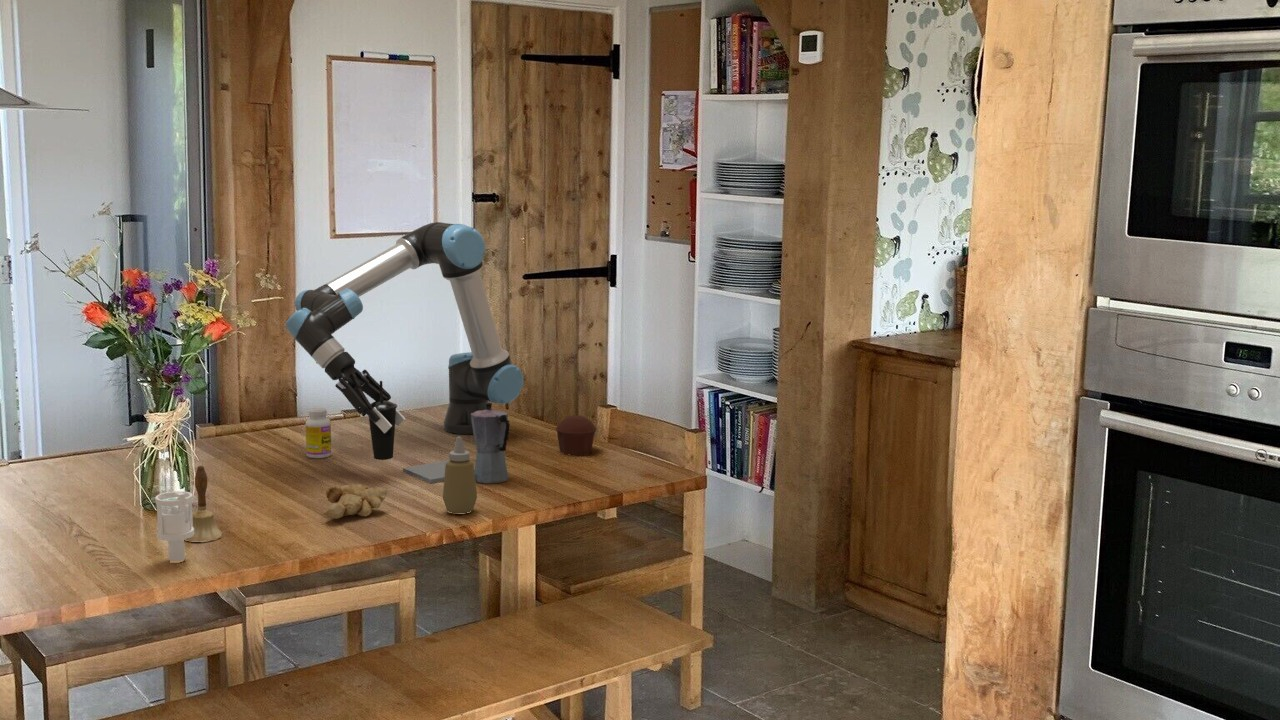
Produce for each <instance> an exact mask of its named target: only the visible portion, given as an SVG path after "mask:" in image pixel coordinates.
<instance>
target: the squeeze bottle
mask: <svg viewBox="0 0 1280 720" xmlns="http://www.w3.org/2000/svg"><path fill="white" fill-rule="evenodd" d="M448 455H449V459H448V460H449V461H448V462H446V465H445V476H444V481H443V490H442V500H443V503H444V506H445V509H446V511H449V512H452V513H467V512H470V511H472V510H473V511H474V508H475V505H476V502H477V500H478V494H477V492H478V491H477V485H476V484H477V482H476V481H475V474H474V470H475V467H474V462H473V461H472V460H470V451H468V450H465V445H464V441H463V436H456V438H455V443H454V449H453V450H451V451H450V452H449V454H448ZM473 511H472V512H473Z"/></svg>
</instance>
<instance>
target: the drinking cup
mask: <svg viewBox="0 0 1280 720" xmlns="http://www.w3.org/2000/svg"><path fill="white" fill-rule="evenodd" d="M379 385H380V401H375V400H374V401H373V402H371V403H370V404H371V406H372V409H373V408H374V407H376V409H377V410H378V411H379V412H380V413H381V414H382V415H383V416H384V417H385V418H386V419H387V421H388V422H389V423H390V424H391V425H392V427H391V428H390V429H389V430H388V431H387V432H386V433H384V432H383V431H382V430H381V429H380V428H379V427H378V426H377V425H376V424H375V423H374V422H373V420H372V419H371V418H370V417H369V416H368V422H369V430H370V437H371V438H370V439H371V444H372V453H373V454H372V455H373V459H374V460H379V461H380V460H381V461H383V460H391V459H393V458H394V448H395V447H394V446H395V433H396V432H395V431H396V424H395V417H396V409H397V408H398V404H396V403H394V402H391V401H390V400H389V401H385V400H383V387H384V386H383V380H379Z"/></svg>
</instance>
